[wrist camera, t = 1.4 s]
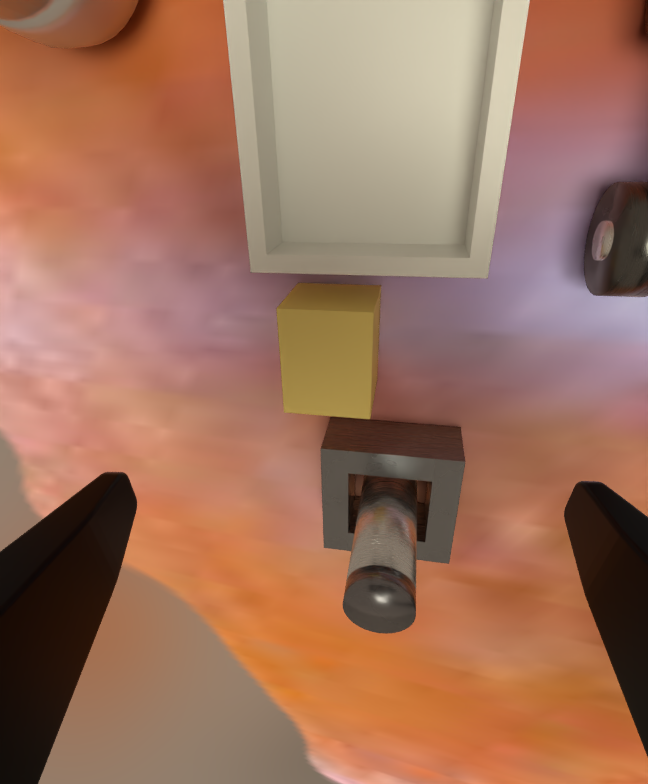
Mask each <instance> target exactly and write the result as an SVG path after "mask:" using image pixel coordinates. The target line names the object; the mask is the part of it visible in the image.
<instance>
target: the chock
mask: <svg viewBox="0 0 648 784" xmlns="http://www.w3.org/2000/svg"><path fill="white" fill-rule="evenodd" d="M380 298H381V285H353V284H320V283H298V284H297V285H296V286H295V287H294V288H293V290H292V291H291V292H290V293H289V294H288V295H287V297H286V298H285V299H284V300H283V301H282V303H281V304H280V305H279V306H278V307H277V309H276V310H277V324H278V337H279V351H280V364H281V378H282V391H283V405H284V412H286V413H298V414H311V415H323V416H336V417H348V418H361V419H370V418H371V412H372V406H373V401H374V395H375V389H376V384H377V373H378V348H379V323H380Z"/></svg>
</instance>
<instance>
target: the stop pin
mask: <svg viewBox="0 0 648 784" xmlns="http://www.w3.org/2000/svg"><path fill="white" fill-rule="evenodd" d="M416 542H417V480H410V479H400V478H390V477H380V476H370V475H364V480H363V486H362V492H361V498H360V504H359V510H358V516H357V522H356V528H355V534H354V540H353V546H352V552H351V557H350V563H349V569H348V575H347V581H346V587H345V593H344V599H343V609H344V612H345V614H346V615H347V617H348V618H349V619H350V620H351V621H352V622H353V623H355V624H356V625H358V626H359V627H361V628H363V629H366V630H369V631H372V632H377V633H396V632H400V631H402V630H405V629H406V628H408V627H409V626H410V625H411V624H412V623H413V622H414V620H415V616H416Z"/></svg>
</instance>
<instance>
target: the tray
mask: <svg viewBox="0 0 648 784" xmlns="http://www.w3.org/2000/svg"><path fill="white" fill-rule="evenodd" d="M529 2H530V0H223V3H224V12H225V22H226V32H227V42H228V52H229V62H230V72H231V82H232V92H233V102H234V112H235V122H236V132H237V142H238V151H239V161H240V171H241V181H242V191H243V201H244V211H245V221H246V231H247V241H248V251H249V261H250V271H251V273H290V274H330V275H370V276H410V277H450V278H488V272H489V265H490V259H491V252H492V246H493V239H494V232H495V226H496V219H497V213H498V206H499V200H500V193H501V186H502V180H503V173H504V167H505V160H506V153H507V147H508V140H509V134H510V127H511V120H512V114H513V107H514V101H515V94H516V87H517V81H518V74H519V68H520V61H521V54H522V48H523V41H524V35H525V28H526V21H527V15H528V8H529Z"/></svg>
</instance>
